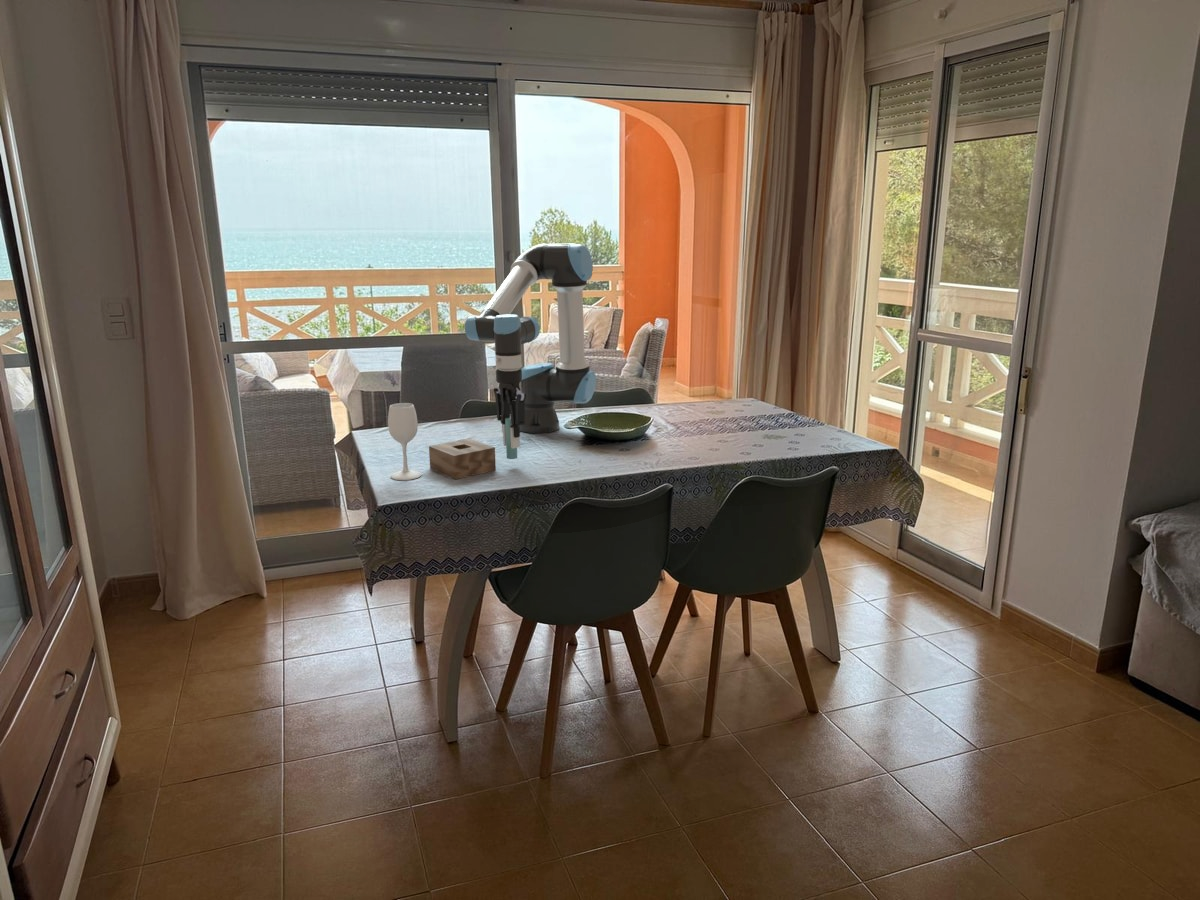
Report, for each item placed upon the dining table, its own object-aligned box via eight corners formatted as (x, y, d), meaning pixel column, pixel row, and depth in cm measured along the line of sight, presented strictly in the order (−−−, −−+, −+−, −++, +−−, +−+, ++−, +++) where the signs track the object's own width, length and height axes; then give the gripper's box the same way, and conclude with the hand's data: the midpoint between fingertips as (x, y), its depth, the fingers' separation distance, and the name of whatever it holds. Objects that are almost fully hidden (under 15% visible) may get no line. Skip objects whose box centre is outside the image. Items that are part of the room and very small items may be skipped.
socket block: (470, 460, 248) (469, 438, 246) (495, 470, 238) (494, 447, 236) (430, 468, 239) (428, 446, 238) (455, 479, 229) (453, 455, 227)
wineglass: (423, 471, 237) (419, 402, 231) (418, 480, 228) (414, 408, 223) (394, 471, 236) (389, 402, 231) (387, 480, 228) (382, 408, 222)
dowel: (513, 455, 243) (511, 416, 239) (519, 457, 240) (518, 418, 237) (504, 457, 241) (502, 418, 237) (510, 459, 238) (509, 420, 235)
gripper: (482, 366, 236) (485, 442, 243) (514, 374, 225) (517, 454, 231) (503, 363, 241) (506, 438, 248) (535, 370, 229) (538, 449, 236)
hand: (511, 445), depth 239 cm, fingers closed on dowel, 3 cm apart
